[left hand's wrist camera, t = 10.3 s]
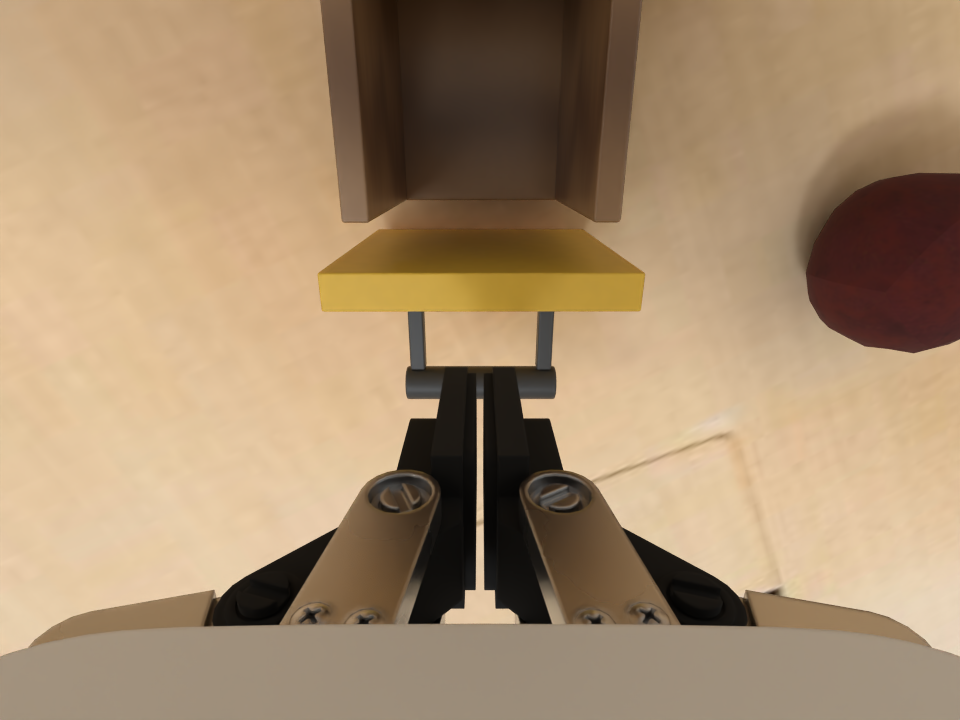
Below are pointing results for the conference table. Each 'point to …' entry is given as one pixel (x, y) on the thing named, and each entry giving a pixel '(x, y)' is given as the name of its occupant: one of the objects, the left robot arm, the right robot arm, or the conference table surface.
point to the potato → (892, 264)
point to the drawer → (481, 160)
